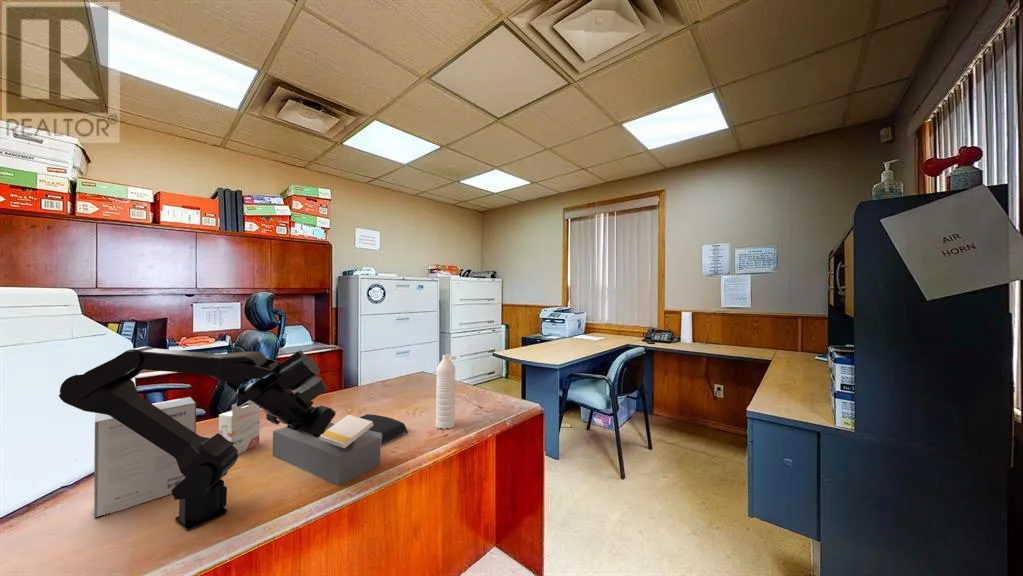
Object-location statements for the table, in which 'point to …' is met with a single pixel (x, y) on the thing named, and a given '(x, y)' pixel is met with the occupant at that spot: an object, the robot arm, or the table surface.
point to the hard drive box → (135, 461)
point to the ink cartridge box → (241, 426)
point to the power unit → (327, 454)
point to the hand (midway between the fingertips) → (323, 431)
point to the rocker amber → (346, 431)
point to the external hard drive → (384, 428)
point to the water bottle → (445, 392)
